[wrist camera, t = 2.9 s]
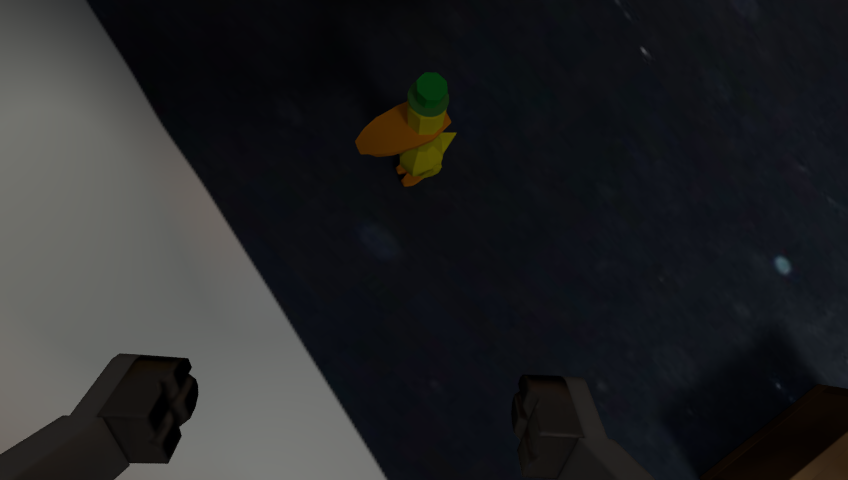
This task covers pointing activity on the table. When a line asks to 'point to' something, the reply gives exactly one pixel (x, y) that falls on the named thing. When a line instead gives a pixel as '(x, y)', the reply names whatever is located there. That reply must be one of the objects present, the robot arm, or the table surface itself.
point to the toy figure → (413, 130)
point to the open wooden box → (795, 443)
